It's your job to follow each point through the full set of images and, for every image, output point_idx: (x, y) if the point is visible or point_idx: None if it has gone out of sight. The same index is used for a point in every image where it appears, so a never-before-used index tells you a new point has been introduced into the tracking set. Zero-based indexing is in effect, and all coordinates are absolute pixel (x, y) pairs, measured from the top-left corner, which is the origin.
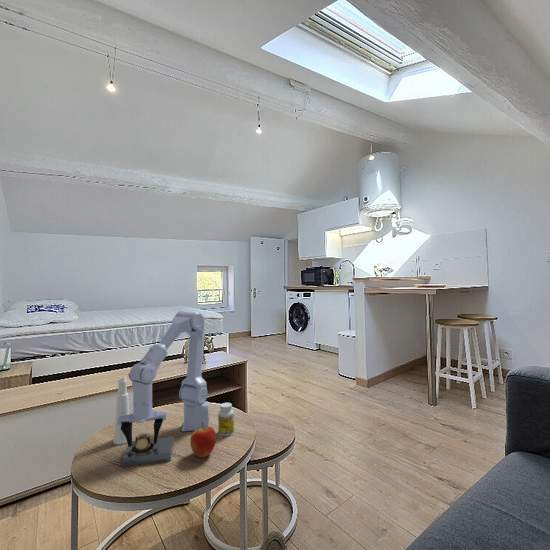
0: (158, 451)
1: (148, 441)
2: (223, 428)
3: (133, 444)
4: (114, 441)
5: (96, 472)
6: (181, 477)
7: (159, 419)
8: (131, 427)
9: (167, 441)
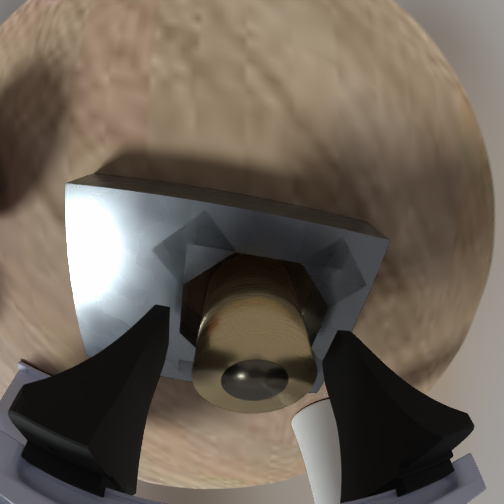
0: (139, 229)
1: (208, 328)
2: None
3: None
4: None
5: (456, 225)
6: (69, 15)
7: (51, 472)
8: (350, 456)
9: (105, 327)
